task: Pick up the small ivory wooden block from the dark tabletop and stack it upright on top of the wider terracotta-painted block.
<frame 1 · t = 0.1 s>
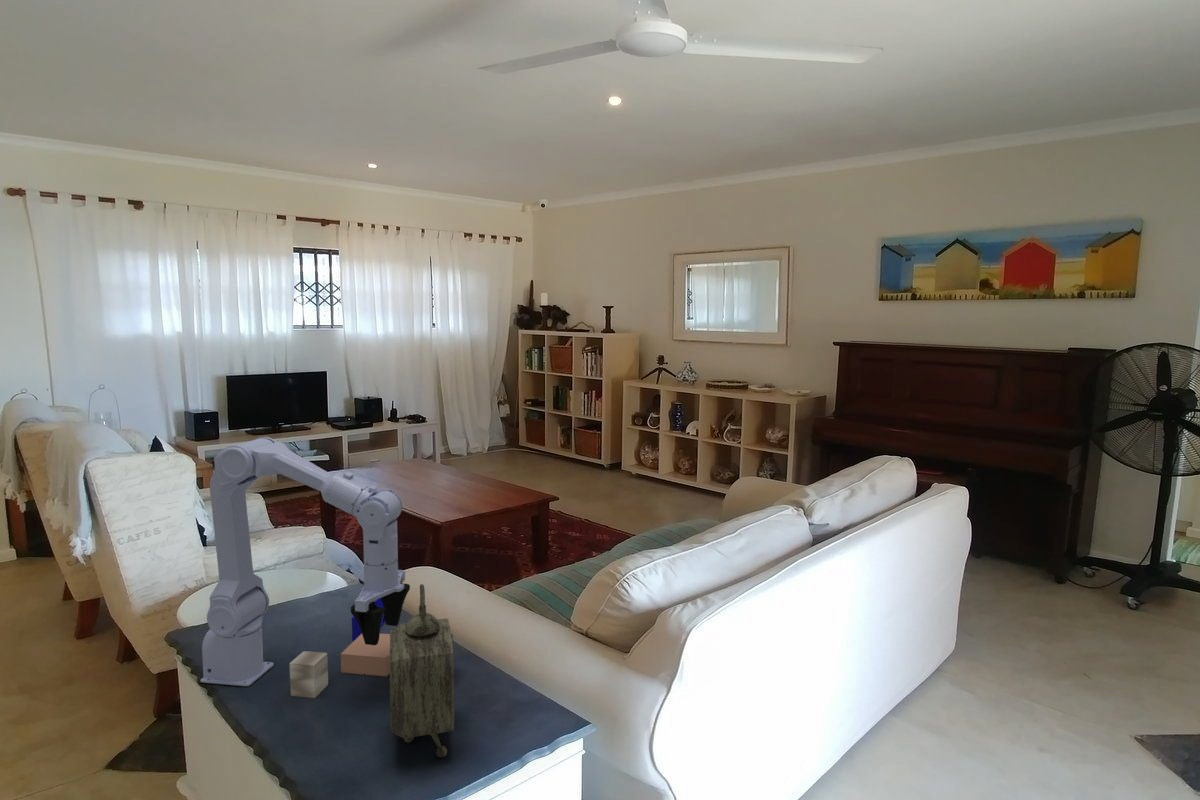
hand: (382, 634, 122), 10 cm above the table, tool pointing down, fingers open, 7 cm apart
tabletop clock: (421, 740, 108), on the table
terracotta block: (374, 664, 132), on the table
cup: (432, 679, 127), on the table
blue stepped block: (366, 634, 145), on the table
ivory block: (309, 690, 122), on the table
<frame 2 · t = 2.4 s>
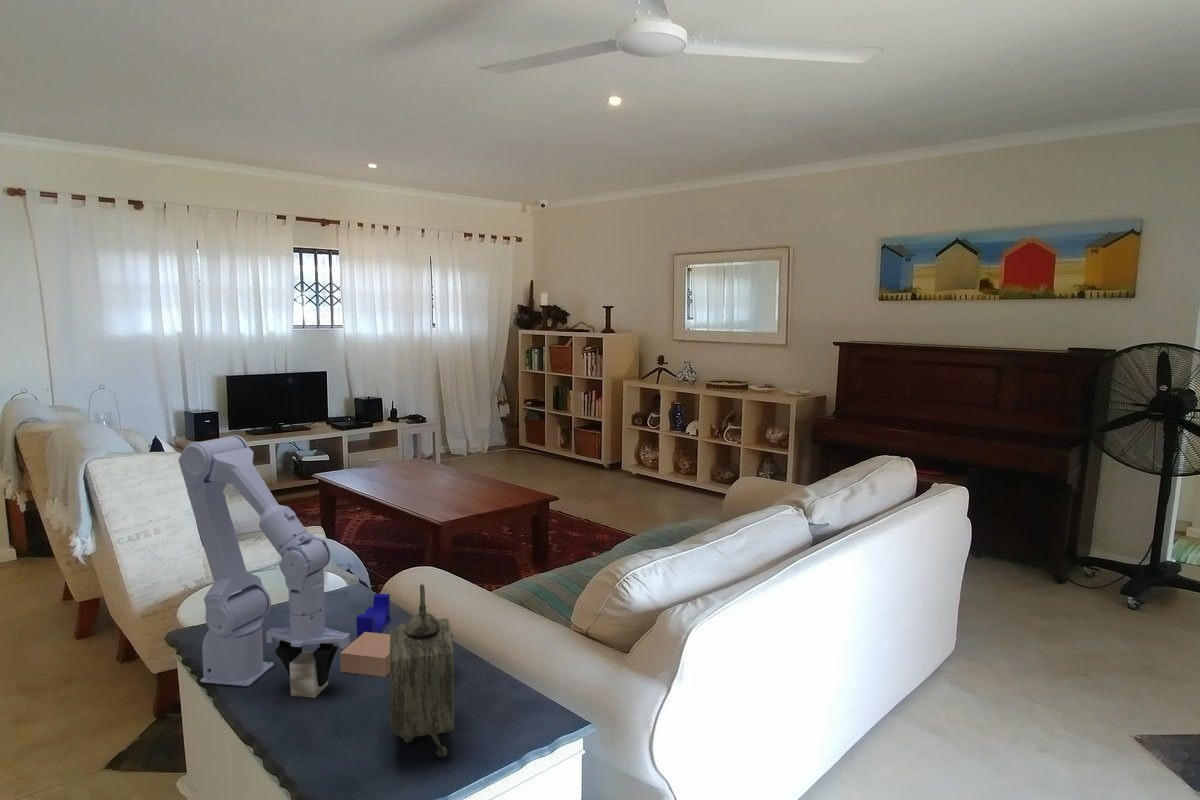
hand: (309, 682, 122), 1 cm above the table, tool pointing down, fingers closed on ivory block, 4 cm apart
ivory block: (309, 689, 122), on the table, touching gripper
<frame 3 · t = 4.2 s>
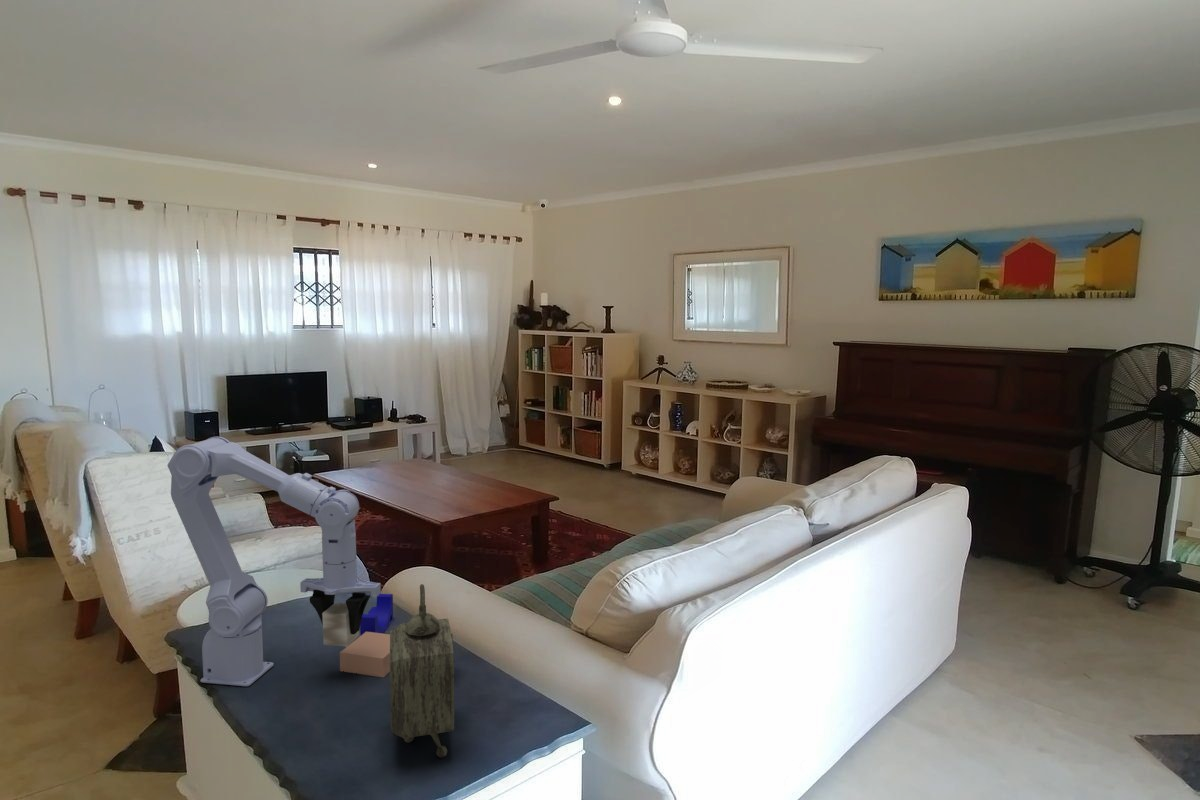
hand: (341, 630, 126), 9 cm above the table, tool pointing down, fingers closed on ivory block, 4 cm apart
ivory block: (341, 639, 126), point 7 cm above the table, touching gripper
when the fingers open (7 cm above the table, at t = 5.9 s): ivory block drops 2 cm, resting on terracotta block.
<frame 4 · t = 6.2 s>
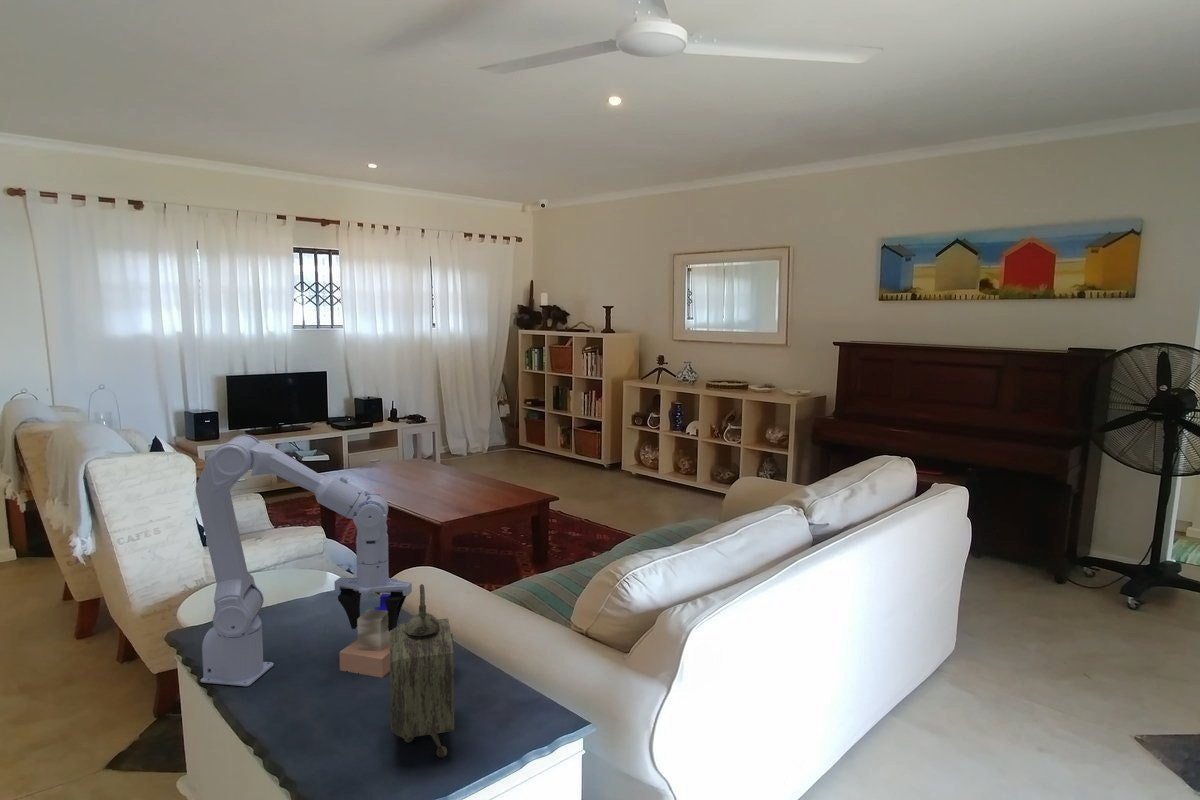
hand: (374, 628, 131), 7 cm above the table, tool pointing down, fingers open, 7 cm apart
terracotta block: (374, 664, 132), on the table, touching ivory block
ivory block: (374, 644, 132), point 4 cm above the table, touching terracotta block
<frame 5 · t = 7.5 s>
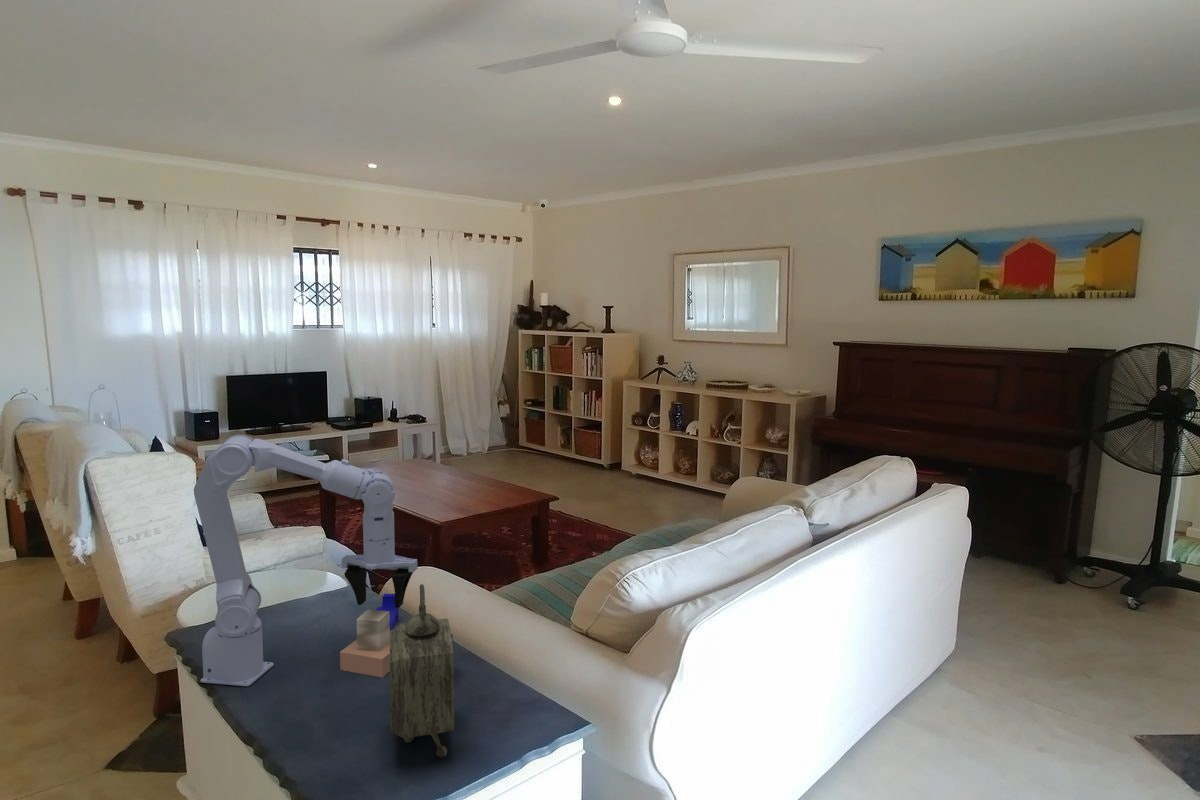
hand: (380, 604, 134), 10 cm above the table, tool pointing down, fingers open, 7 cm apart
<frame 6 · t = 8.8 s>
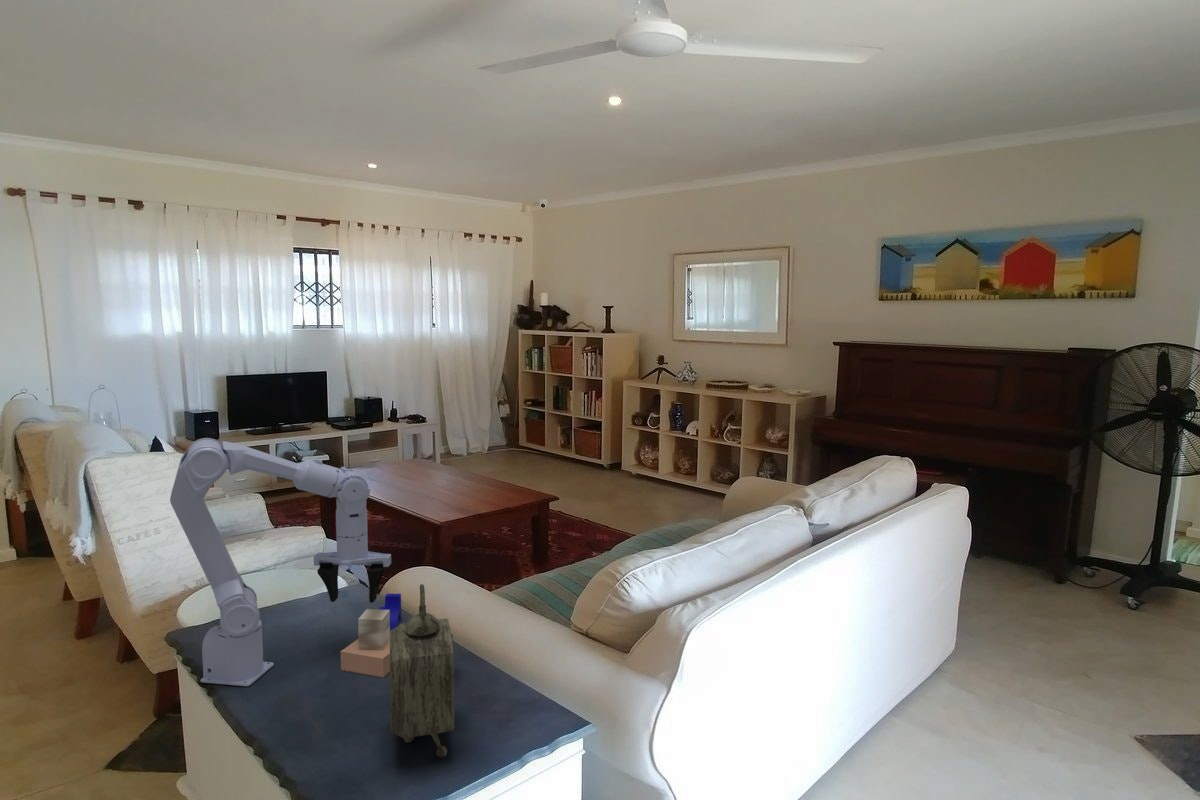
hand: (353, 600, 136), 10 cm above the table, tool pointing down, fingers open, 7 cm apart
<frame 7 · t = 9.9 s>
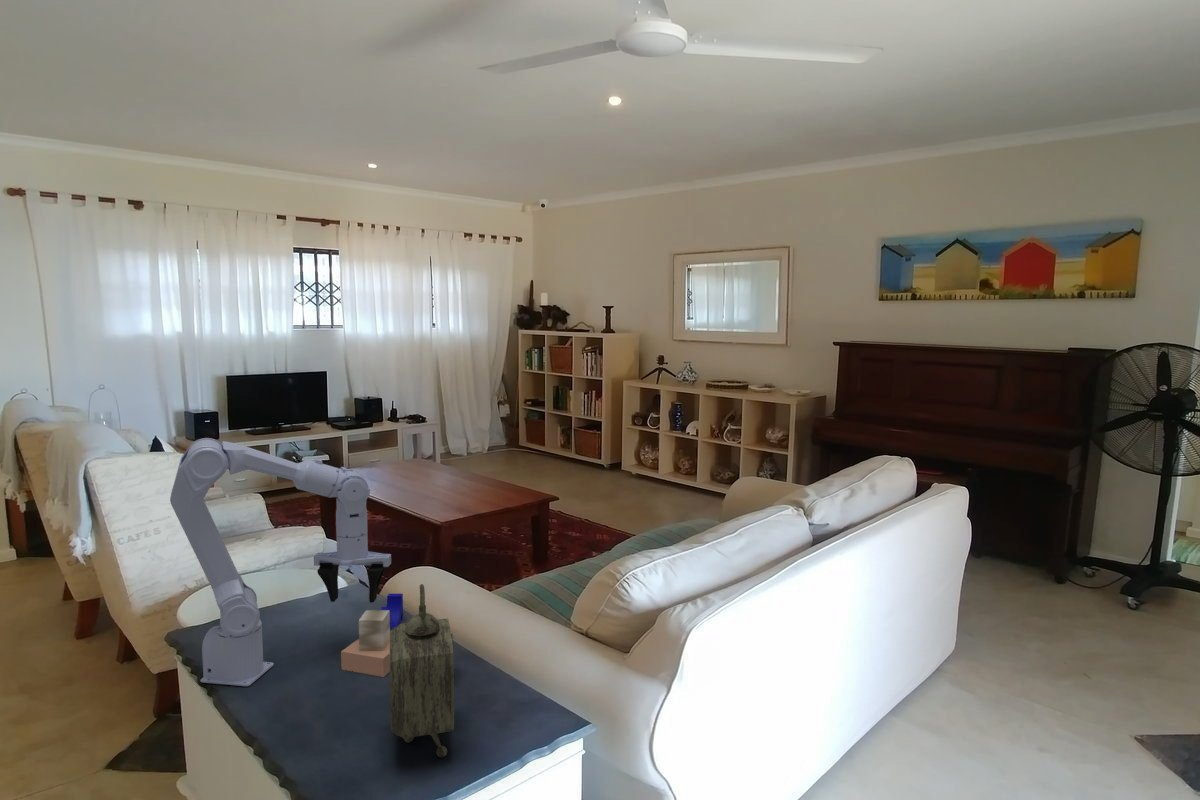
hand: (353, 600, 136), 10 cm above the table, tool pointing down, fingers open, 7 cm apart
at the end: ivory block 0.5 cm off-centre on the terracotta block, point 4.0 cm above the terracotta block's base; ivory block tilted 0°; ivory block touching terracotta block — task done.
